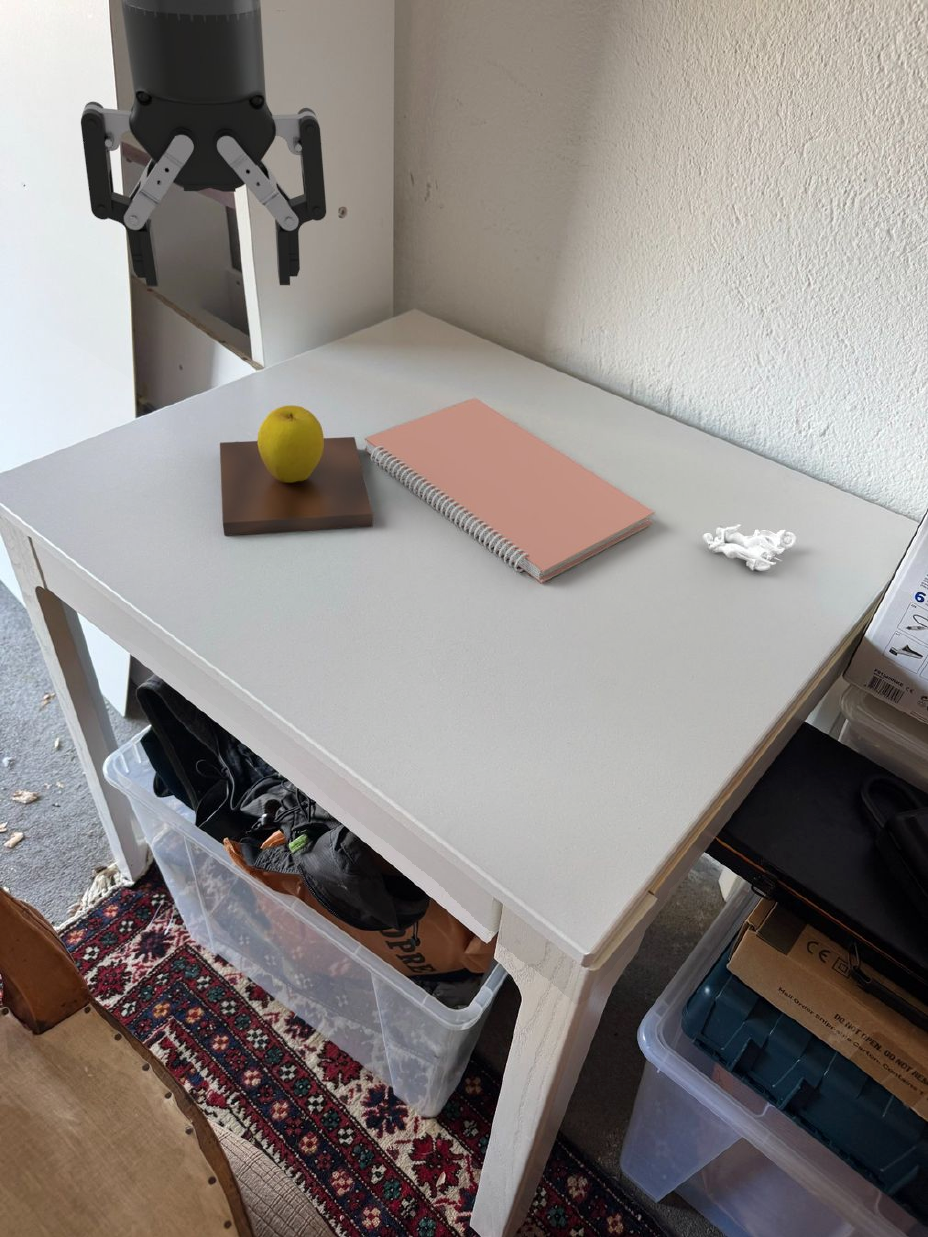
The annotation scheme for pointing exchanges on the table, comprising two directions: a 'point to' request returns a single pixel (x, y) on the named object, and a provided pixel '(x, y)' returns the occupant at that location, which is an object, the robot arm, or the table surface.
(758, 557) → the figurine
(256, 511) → the cutting board
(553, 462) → the notebook
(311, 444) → the apple
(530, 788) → the table surface
